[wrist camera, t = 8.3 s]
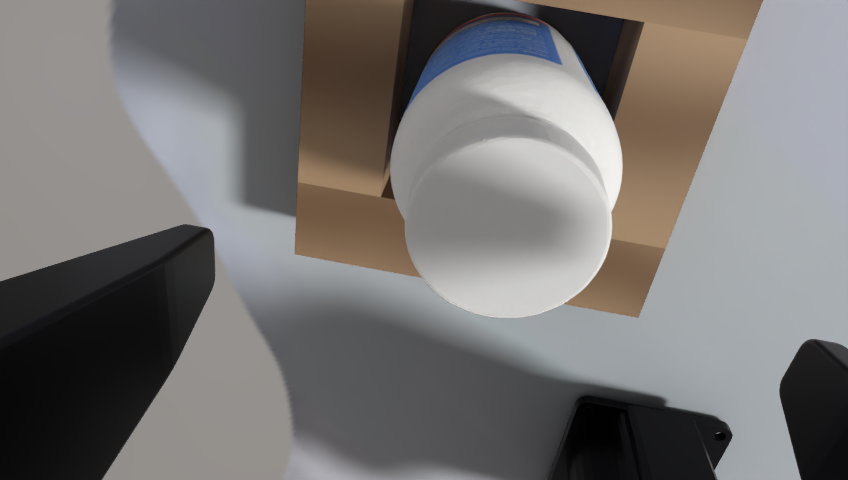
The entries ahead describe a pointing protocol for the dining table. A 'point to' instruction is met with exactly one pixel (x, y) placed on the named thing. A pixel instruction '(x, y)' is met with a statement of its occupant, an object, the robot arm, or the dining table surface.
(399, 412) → the dining table surface
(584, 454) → the robot arm
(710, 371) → the dining table surface
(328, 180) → the socket block
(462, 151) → the pill bottle
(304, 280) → the dining table surface
